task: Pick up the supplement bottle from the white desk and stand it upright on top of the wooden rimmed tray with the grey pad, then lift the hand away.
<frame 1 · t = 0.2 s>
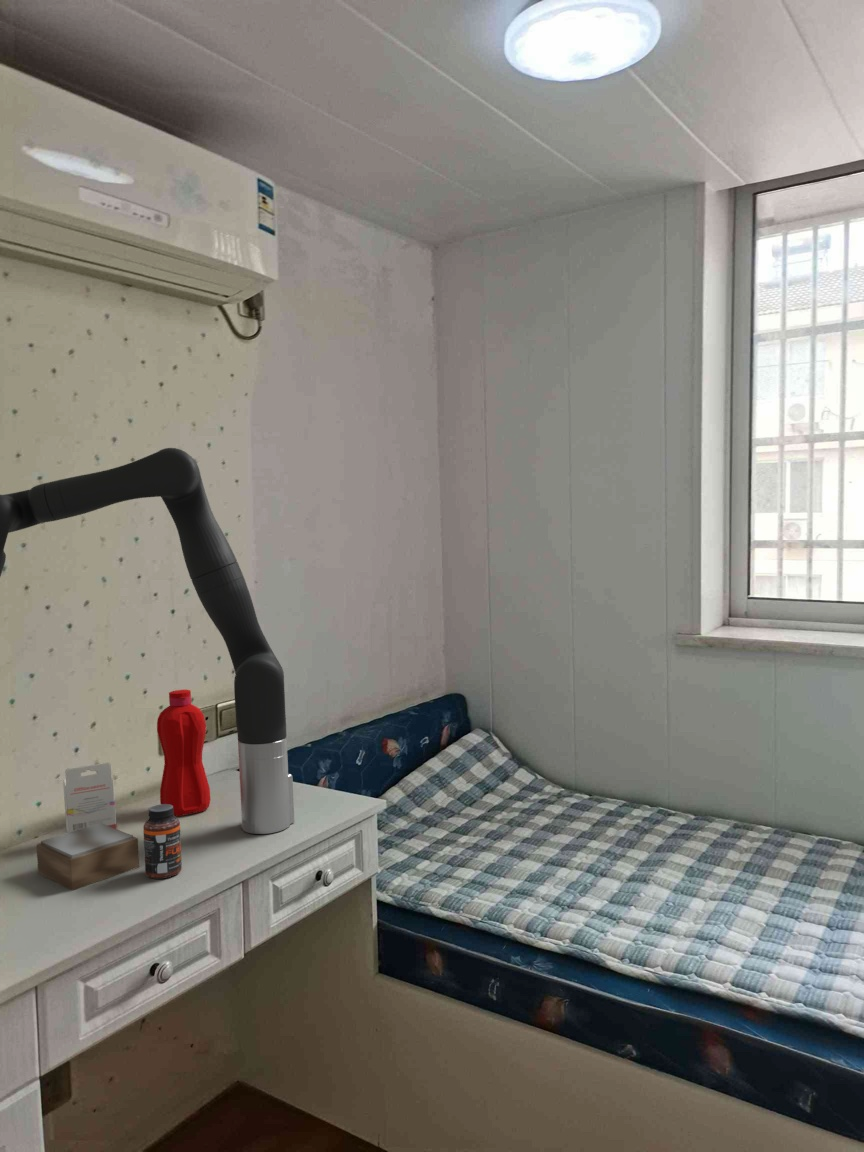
water bottle: (184, 809, 183), on the table
wooden rimmed tray: (89, 869, 151), on the table
supplement bottle: (164, 874, 149), on the table
ink cartridge box: (91, 840, 166), on the table
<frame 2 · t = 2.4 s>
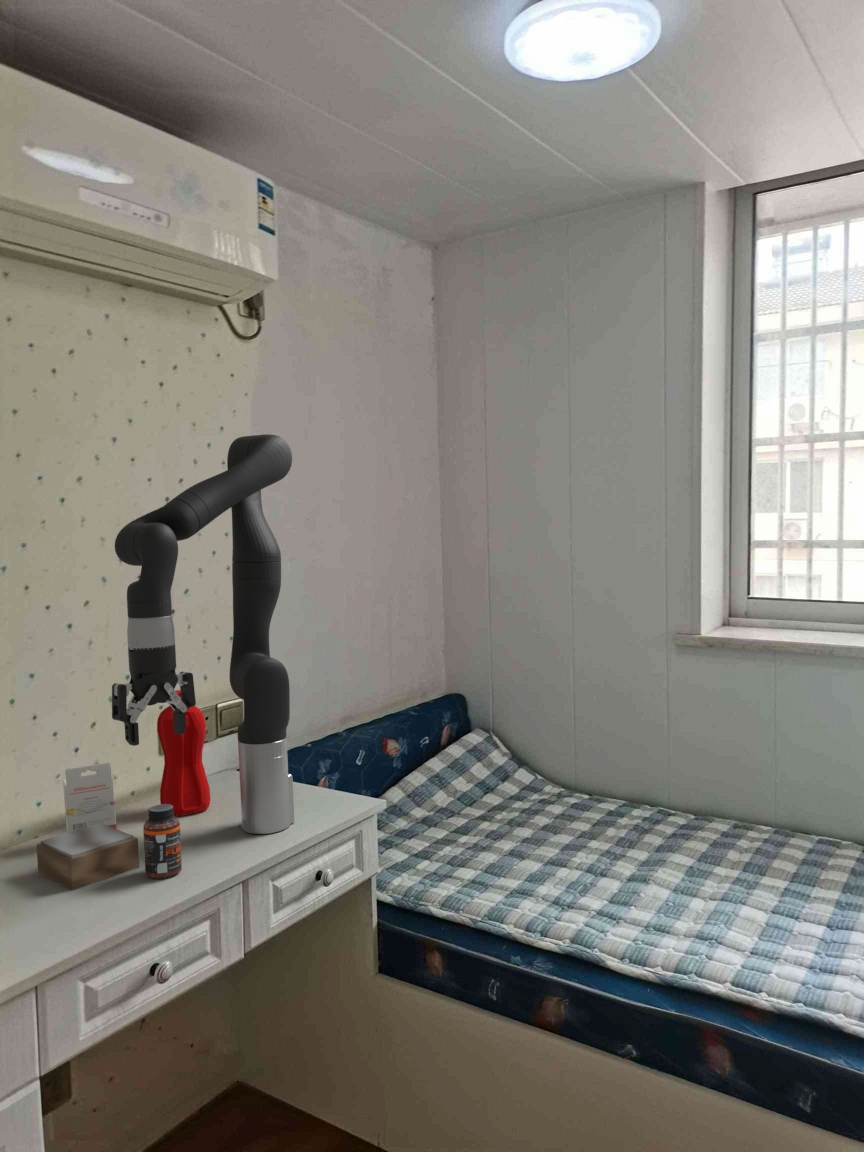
hand: (156, 739, 147), 23 cm above the table, tool pointing down, fingers open, 8 cm apart
nothing on the table moved.
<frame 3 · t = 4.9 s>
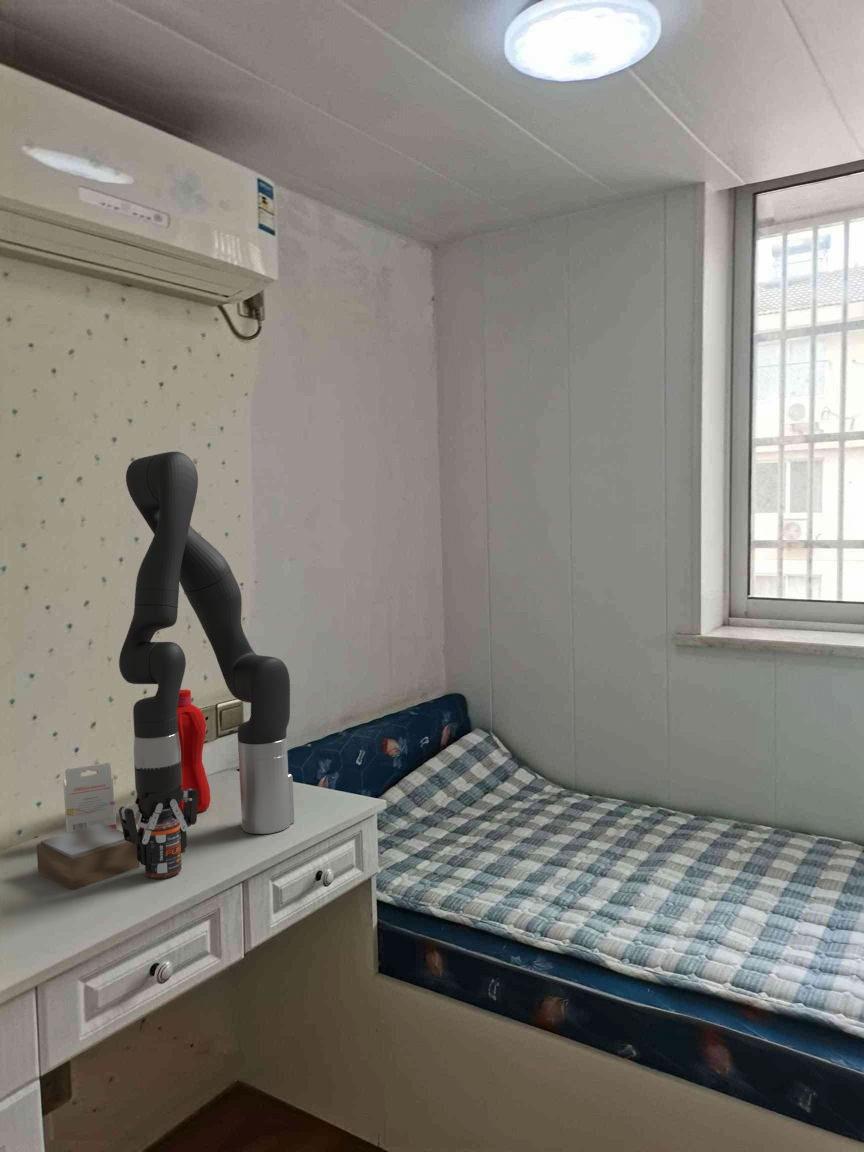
hand: (162, 857, 149), 3 cm above the table, tool pointing down, fingers closed on supplement bottle, 6 cm apart
supplement bottle: (163, 874, 149), on the table, touching gripper
everything else where it was.
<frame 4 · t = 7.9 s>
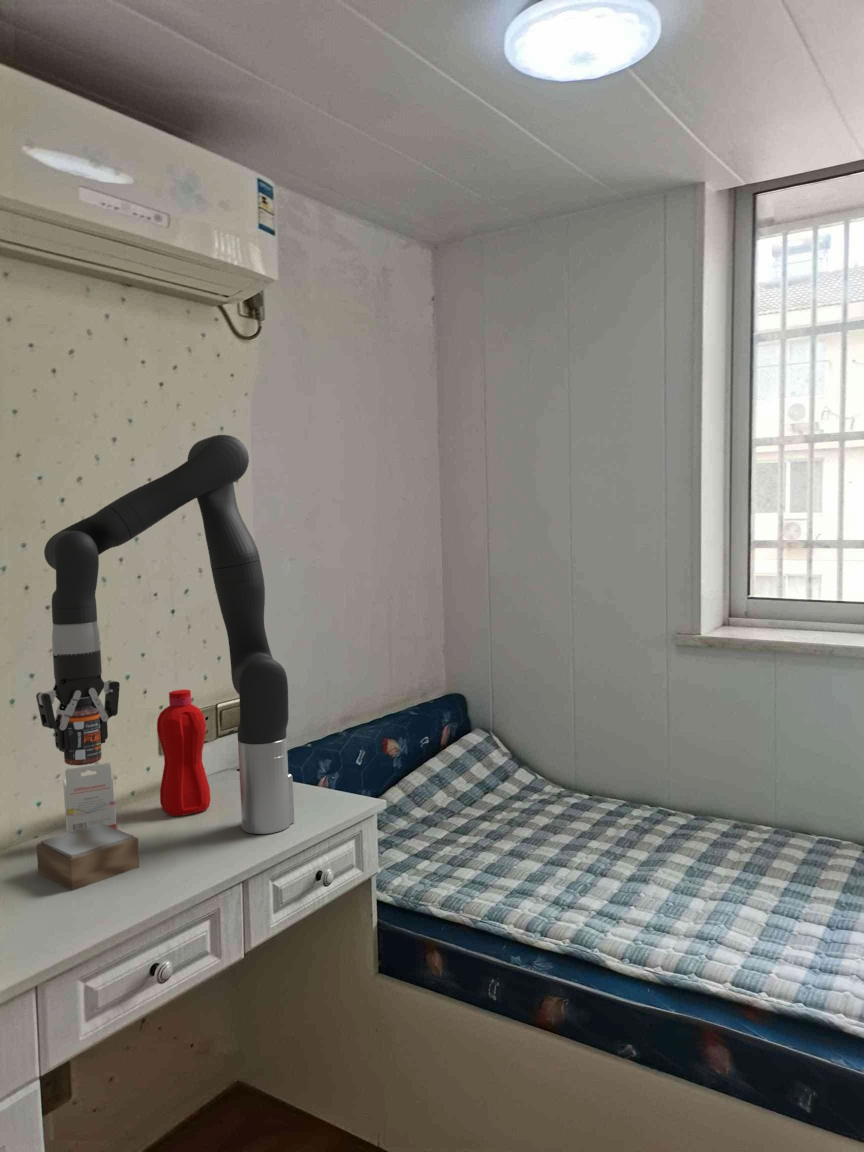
hand: (82, 746, 150), 21 cm above the table, tool pointing down, fingers closed on supplement bottle, 6 cm apart
supplement bottle: (83, 763, 150), point 19 cm above the table, touching gripper
everything else where it was.
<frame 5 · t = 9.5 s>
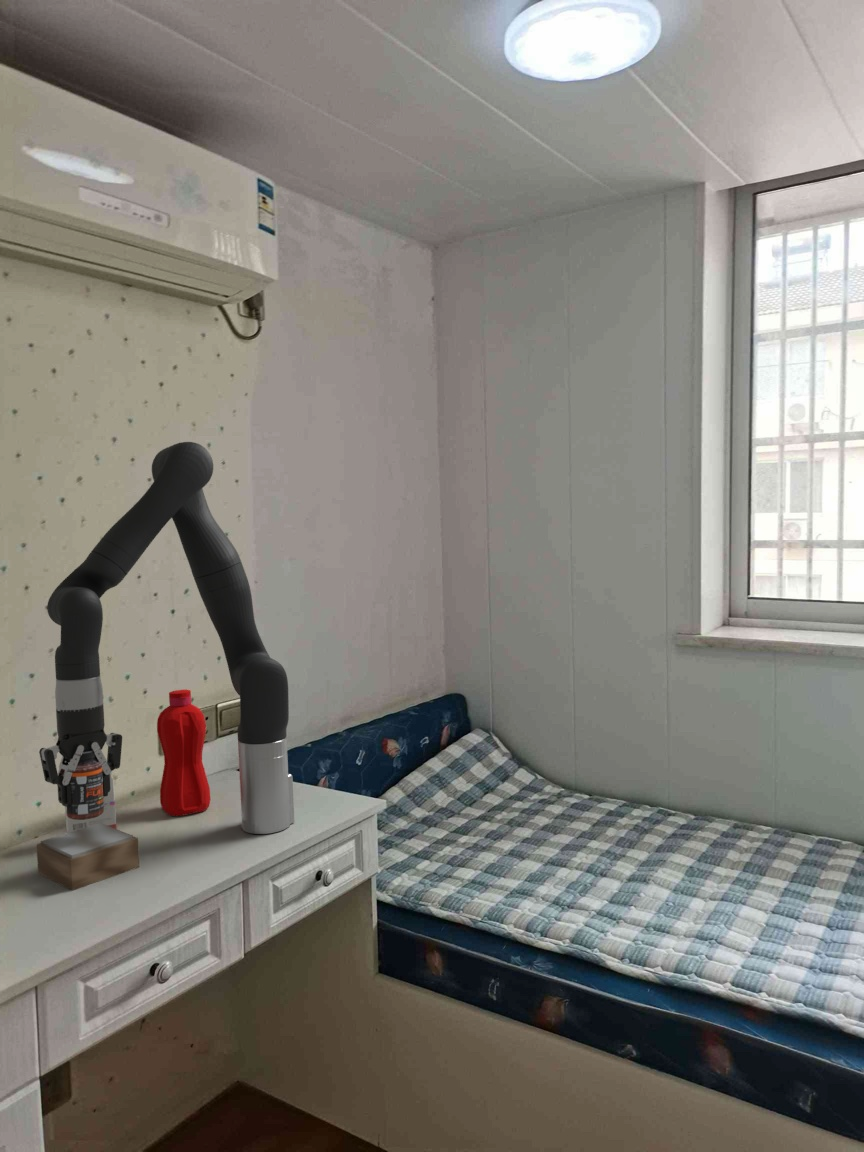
hand: (85, 800, 151), 12 cm above the table, tool pointing down, fingers closed on supplement bottle, 6 cm apart
supplement bottle: (86, 816, 151), point 9 cm above the table, touching gripper
everything else where it was.
when the fingers open (9 cm above the table, at t = 11.0 s): supplement bottle drops 1 cm, resting on wooden rimmed tray.
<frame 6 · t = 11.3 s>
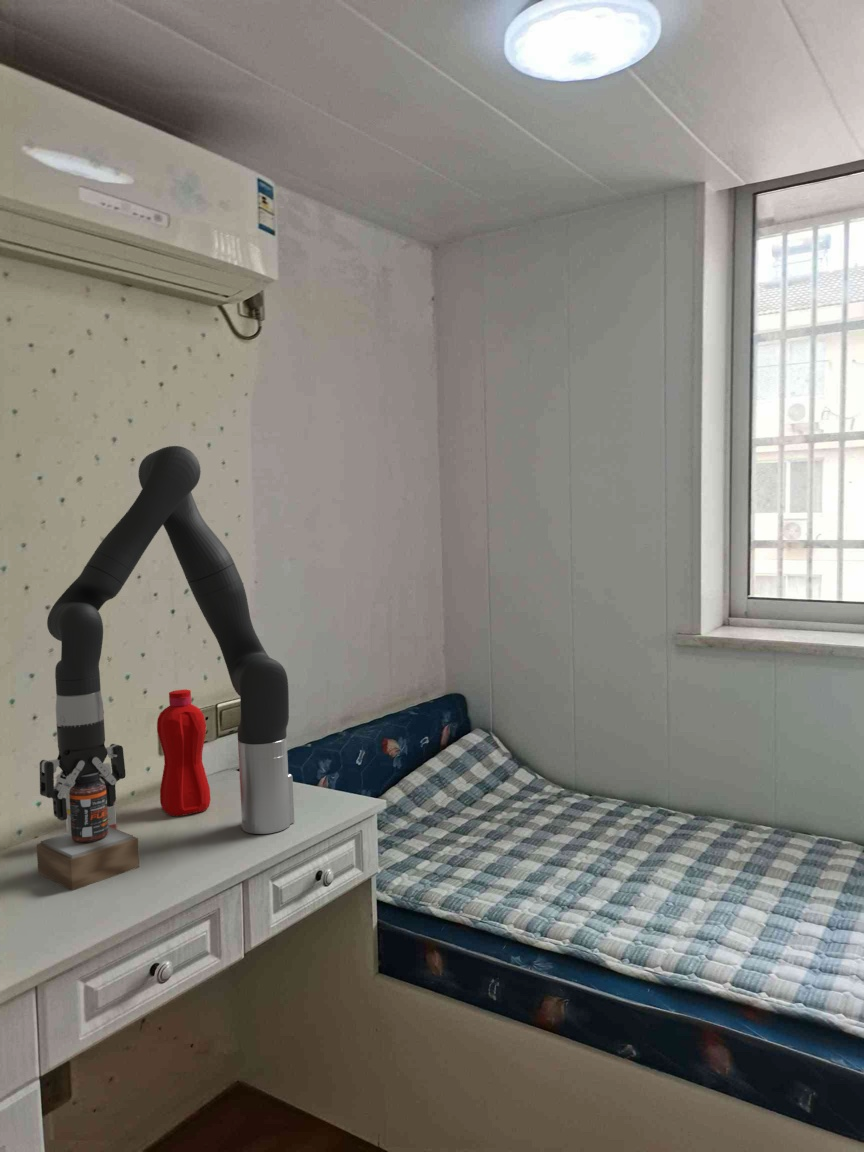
hand: (85, 812, 151), 10 cm above the table, tool pointing down, fingers open, 8 cm apart
supplement bottle: (90, 838, 151), point 5 cm above the table, touching wooden rimmed tray
everything else where it was.
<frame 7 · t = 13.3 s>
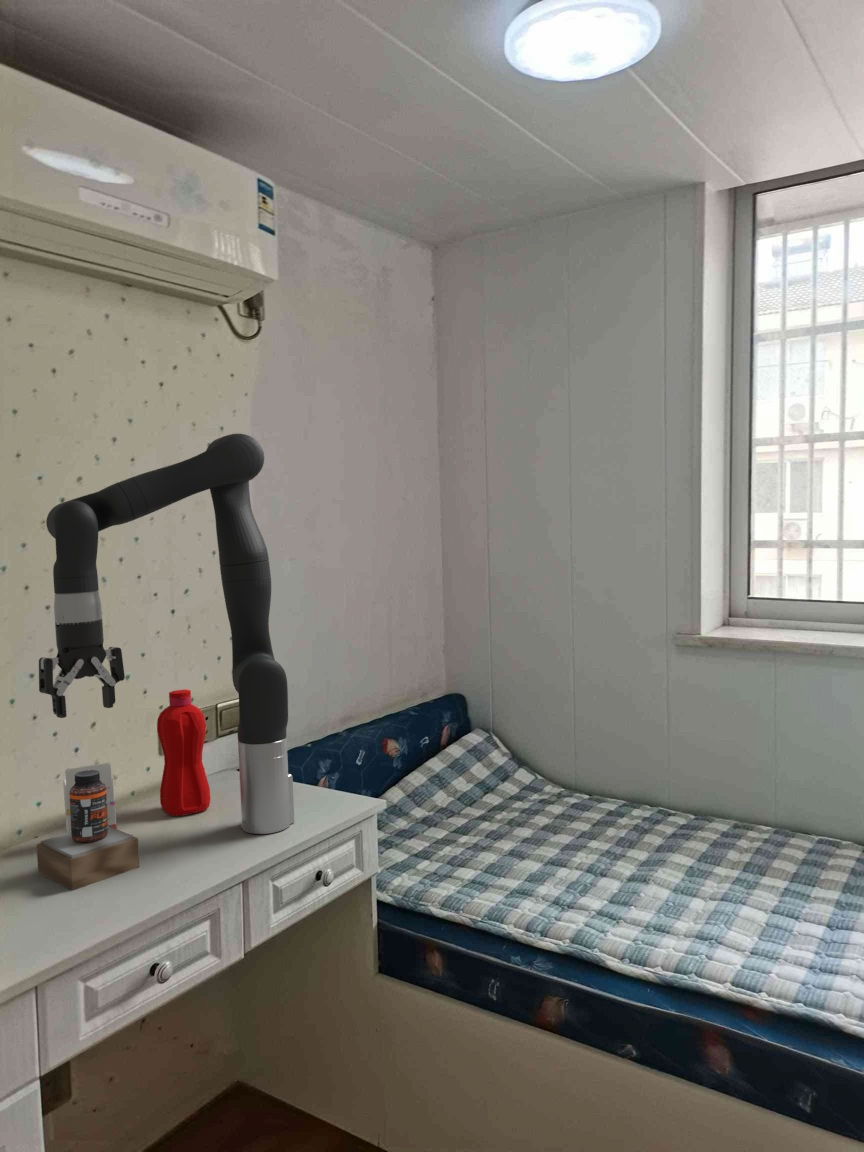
hand: (85, 712, 151), 27 cm above the table, tool pointing down, fingers open, 8 cm apart
nothing on the table moved.
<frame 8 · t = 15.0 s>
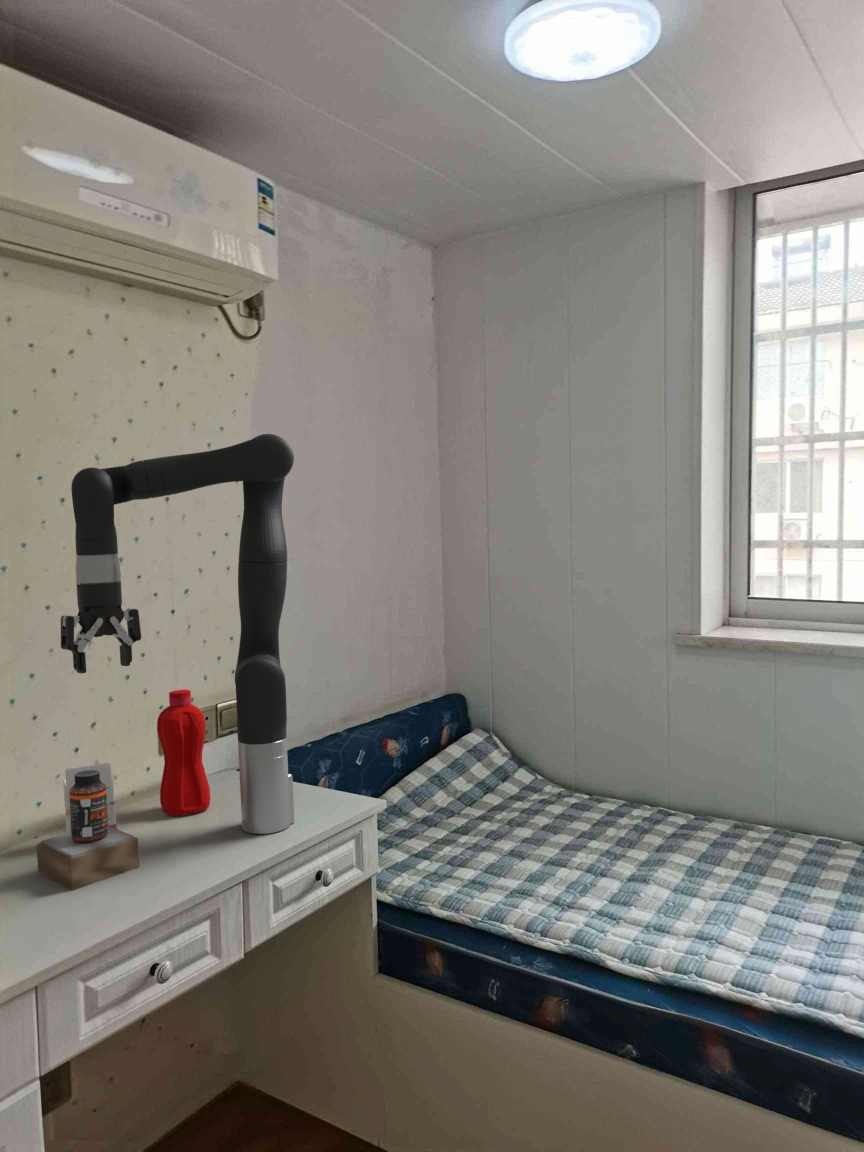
hand: (103, 669, 159), 33 cm above the table, tool pointing down, fingers open, 8 cm apart
nothing on the table moved.
at the end: supplement bottle inside the target area on the wooden rimmed tray (0.6 cm from its centre), point 5.3 cm above the wooden rimmed tray's base; supplement bottle tilted 0°; the gripper is holding nothing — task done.
